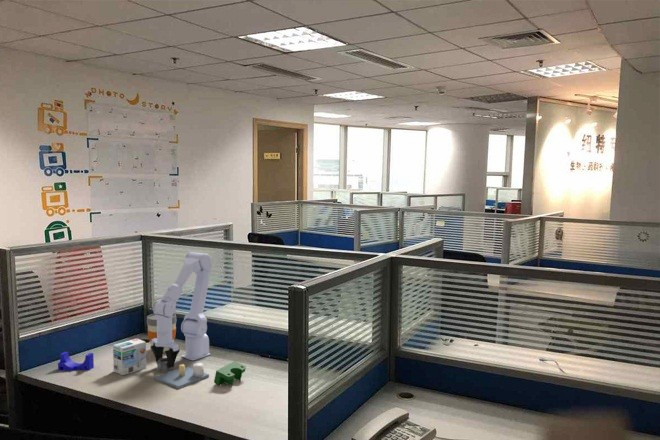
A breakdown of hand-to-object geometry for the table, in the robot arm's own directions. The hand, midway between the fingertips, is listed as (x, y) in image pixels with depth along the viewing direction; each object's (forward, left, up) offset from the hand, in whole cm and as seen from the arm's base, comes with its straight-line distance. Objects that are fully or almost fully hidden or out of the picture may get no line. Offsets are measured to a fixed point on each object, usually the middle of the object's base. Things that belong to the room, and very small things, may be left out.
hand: (165, 364), depth 205 cm
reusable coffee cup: (-13, -20, -2) cm, 24 cm away
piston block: (+2, +13, -2) cm, 13 cm away
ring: (0, 0, -2) cm, 2 cm away
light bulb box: (+9, -10, -2) cm, 14 cm away
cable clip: (+21, -27, -2) cm, 35 cm away
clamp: (-7, +30, -2) cm, 31 cm away
